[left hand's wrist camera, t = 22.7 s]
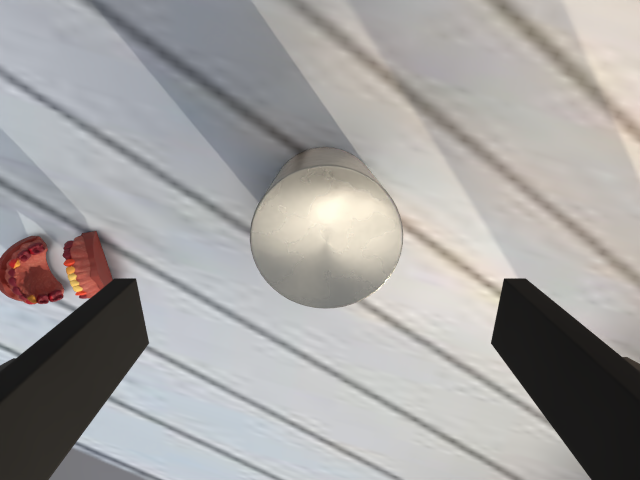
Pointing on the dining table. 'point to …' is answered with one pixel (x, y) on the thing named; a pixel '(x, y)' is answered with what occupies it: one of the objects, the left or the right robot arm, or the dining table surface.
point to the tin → (326, 230)
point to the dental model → (36, 278)
